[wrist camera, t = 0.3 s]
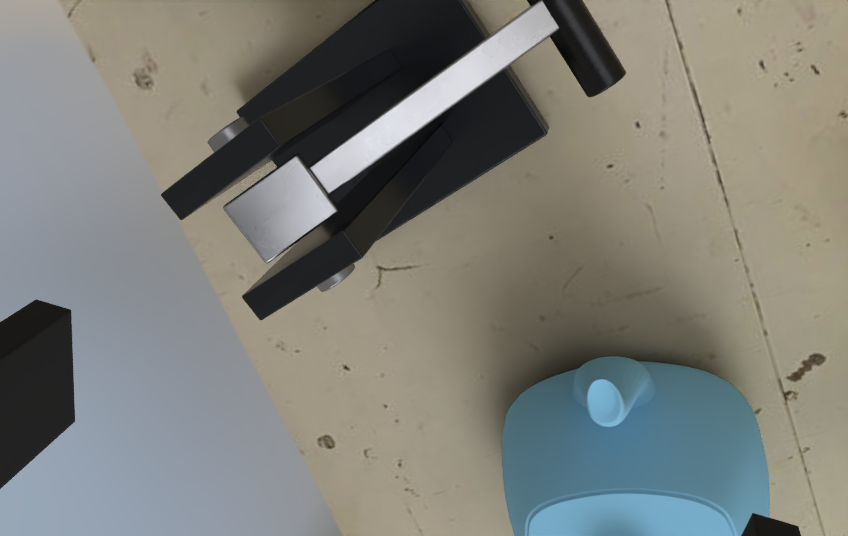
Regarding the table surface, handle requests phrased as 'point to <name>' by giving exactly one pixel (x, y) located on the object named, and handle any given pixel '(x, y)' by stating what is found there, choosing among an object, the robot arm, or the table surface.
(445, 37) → the bracket
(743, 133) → the table surface
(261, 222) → the lever
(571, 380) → the teapot
